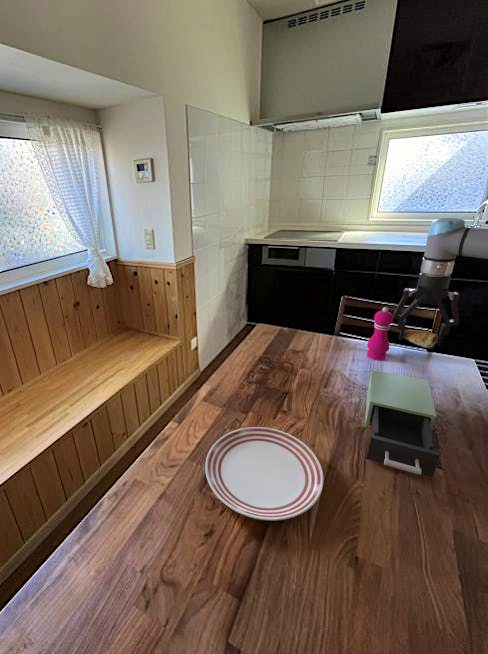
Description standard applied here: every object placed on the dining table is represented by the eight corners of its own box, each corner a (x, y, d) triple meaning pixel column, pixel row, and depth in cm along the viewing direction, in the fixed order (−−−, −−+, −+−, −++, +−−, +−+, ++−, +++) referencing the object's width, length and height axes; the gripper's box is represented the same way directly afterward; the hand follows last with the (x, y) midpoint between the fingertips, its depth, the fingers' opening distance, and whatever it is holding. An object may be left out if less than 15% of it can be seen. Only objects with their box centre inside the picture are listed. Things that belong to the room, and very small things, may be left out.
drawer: (434, 492, 74) (442, 469, 71) (365, 471, 80) (370, 449, 77) (425, 433, 90) (431, 412, 87) (368, 419, 95) (372, 399, 93)
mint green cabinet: (428, 442, 88) (436, 416, 84) (364, 426, 94) (370, 401, 91) (421, 404, 101) (428, 380, 98) (366, 392, 108) (371, 369, 104)
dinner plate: (182, 472, 84) (182, 462, 82) (254, 420, 99) (254, 411, 98) (273, 559, 64) (274, 548, 63) (344, 477, 80) (346, 467, 78)
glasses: (293, 373, 120) (294, 361, 118) (281, 393, 110) (282, 380, 108) (259, 364, 127) (259, 352, 125) (244, 382, 117) (244, 369, 115)
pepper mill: (370, 349, 132) (379, 302, 123) (390, 355, 126) (401, 307, 118) (361, 356, 127) (370, 307, 119) (382, 363, 122) (392, 313, 114)
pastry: (397, 339, 110) (399, 328, 108) (407, 333, 113) (409, 322, 112) (430, 349, 103) (432, 338, 101) (439, 342, 106) (442, 331, 105)
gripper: (391, 274, 100) (379, 340, 109) (487, 280, 90) (465, 352, 99) (391, 267, 106) (379, 331, 115) (480, 272, 96) (460, 341, 105)
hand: (419, 341), depth 107 cm, fingers closed on pastry, 10 cm apart
